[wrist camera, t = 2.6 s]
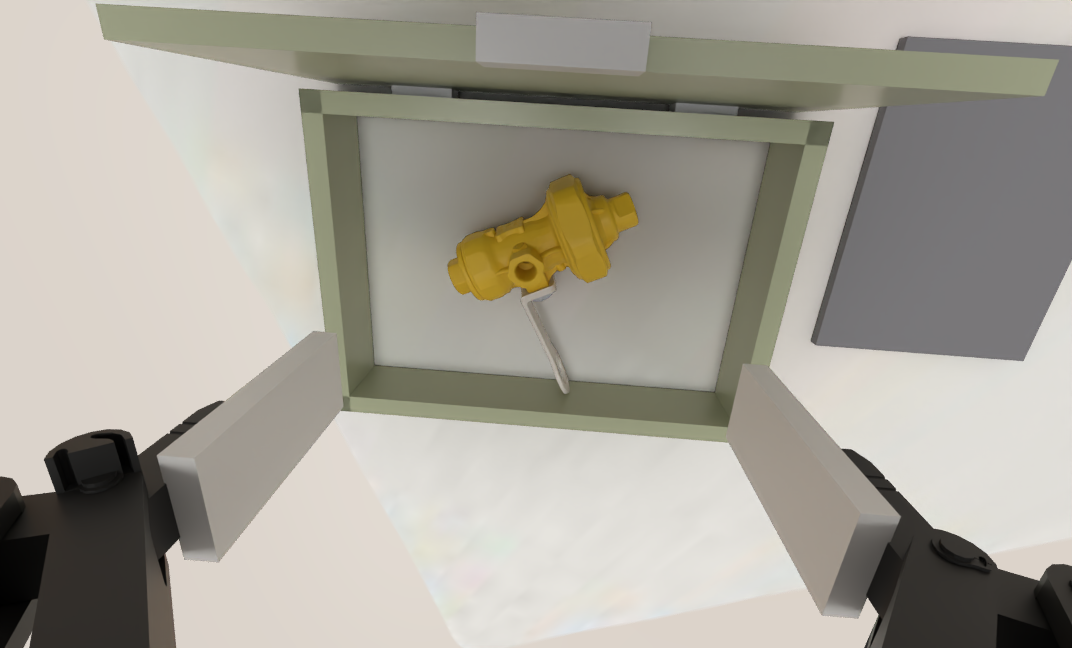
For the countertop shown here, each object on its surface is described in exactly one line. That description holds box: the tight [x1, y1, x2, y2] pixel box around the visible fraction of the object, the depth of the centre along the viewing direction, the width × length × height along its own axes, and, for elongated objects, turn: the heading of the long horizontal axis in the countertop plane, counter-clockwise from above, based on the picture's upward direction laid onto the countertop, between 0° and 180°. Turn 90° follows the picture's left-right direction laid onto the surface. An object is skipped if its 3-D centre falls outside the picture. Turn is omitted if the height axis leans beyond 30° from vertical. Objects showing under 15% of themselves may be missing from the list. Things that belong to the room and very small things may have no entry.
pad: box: [811, 37, 1072, 361], centre depth 26 cm, size 16×12×1 cm
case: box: [96, 4, 1059, 443], centre depth 22 cm, size 18×24×15 cm
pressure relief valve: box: [448, 174, 639, 394], centre depth 27 cm, size 6×12×10 cm
